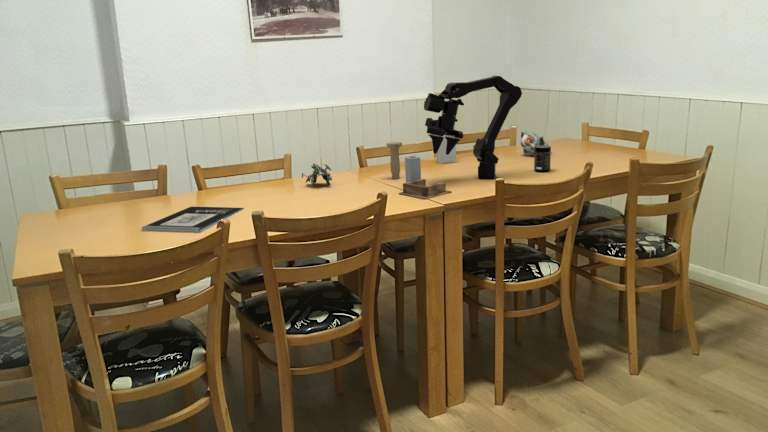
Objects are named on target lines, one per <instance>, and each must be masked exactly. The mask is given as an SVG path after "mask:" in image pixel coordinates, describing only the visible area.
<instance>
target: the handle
mask: <svg viewBox="0 0 768 432" xmlns="http://www.w3.org/2000/svg"><path fill="white" fill-rule="evenodd" d="M386 147H387V148H389V149H390V173H391V179H393V180H398V179H400V176H401V175H400V173H401V163H400V162H401V161H400V151H399V150H400V148H401V147H403V142H402V141H393V142H387V143H386Z"/></svg>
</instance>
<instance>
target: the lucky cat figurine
mask: <svg viewBox="0 0 768 432" xmlns="http://www.w3.org/2000/svg"><path fill="white" fill-rule="evenodd" d="M520 133H521V134H520V138H521V139H520V146H521V148H523V150H522V151H523V155H524V156H525V157H526V156H534V147H535V146H540V145H546V146H549V144H548V142H547V141H545V140H544V136H543V135H541V136H538V134H536V133H535V132H527V131H523V132H522V131H521V132H520ZM552 153H553V152H552V151H551V154H552Z"/></svg>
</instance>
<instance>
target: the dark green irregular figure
mask: <svg viewBox="0 0 768 432" xmlns="http://www.w3.org/2000/svg"><path fill="white" fill-rule="evenodd" d="M323 165H324V166H325V168H323V167H321V166H320V165H319V164H317V163H315V162H313V163H312V164H311V165H310V166H311V169H313V170H312V173H310V174H309V175H305V174H304V172H301V178H304V176H305V177H307V178H306V180H305V184H307V183H308V182H309V183H310V187H312V186H313V185H314V184H316V183H317V179H318V177H320V176H321V177H322V179H323V180H324V181H325V182H326V185H328V186H330V185H331V182H330V181H333V178H332V175H331V174H330V172H328V171H327V170H329V171H332V168H331V167H330V166H329V165H327V164H326V163H324V164H323ZM313 183H314V184H313Z"/></svg>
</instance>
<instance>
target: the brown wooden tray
mask: <svg viewBox="0 0 768 432" xmlns="http://www.w3.org/2000/svg"><path fill="white" fill-rule="evenodd" d="M426 183H427V180H426V179H425V178H421V179H420V180H416V181H411V182H407V183H406V182H404V183H402V191H401V192H398V195H400V196H401V195H402V196H406V197H410V198H415V199H421V200H424V201H425V200H429V199H432V198H435V197H436V196H437V197H440V196H444V195H447V194H451V193H452V190H447V189H446V187H447V186H446V185H447V183H446V182H442V181H441V182H438V183H435V184H434V183H433V184H430V185H427V184H426ZM437 197H436V198H437Z"/></svg>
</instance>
